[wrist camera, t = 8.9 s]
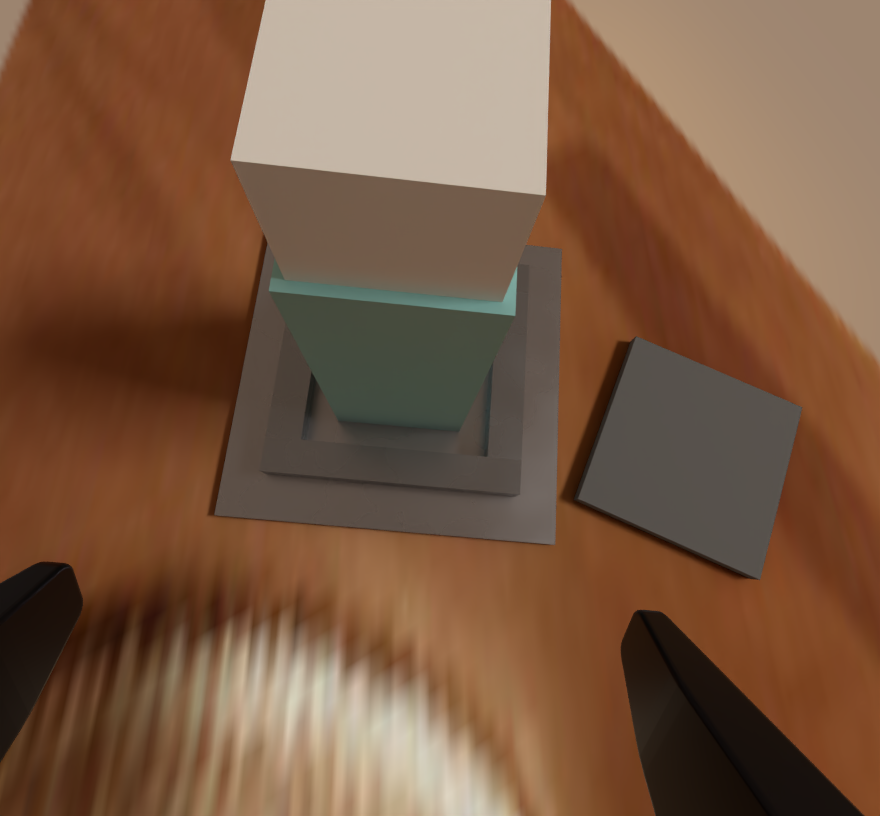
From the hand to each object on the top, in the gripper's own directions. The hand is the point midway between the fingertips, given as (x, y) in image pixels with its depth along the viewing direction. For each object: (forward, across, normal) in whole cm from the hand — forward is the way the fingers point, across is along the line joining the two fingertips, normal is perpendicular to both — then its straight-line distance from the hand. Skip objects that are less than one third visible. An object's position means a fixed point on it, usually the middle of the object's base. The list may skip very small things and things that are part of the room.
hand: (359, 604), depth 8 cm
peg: (+12, 0, +1) cm, 12 cm away
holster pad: (+11, -11, +3) cm, 16 cm away
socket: (+12, 0, +2) cm, 12 cm away
